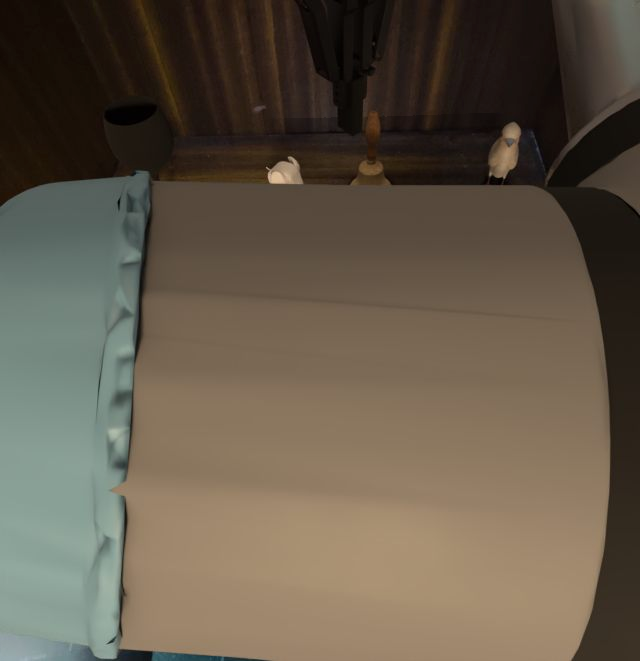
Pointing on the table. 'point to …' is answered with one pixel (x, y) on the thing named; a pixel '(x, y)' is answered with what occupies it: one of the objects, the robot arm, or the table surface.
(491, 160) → the bird
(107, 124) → the wine glass
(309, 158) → the table surface
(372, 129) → the hand bell
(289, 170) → the elephant figurine
